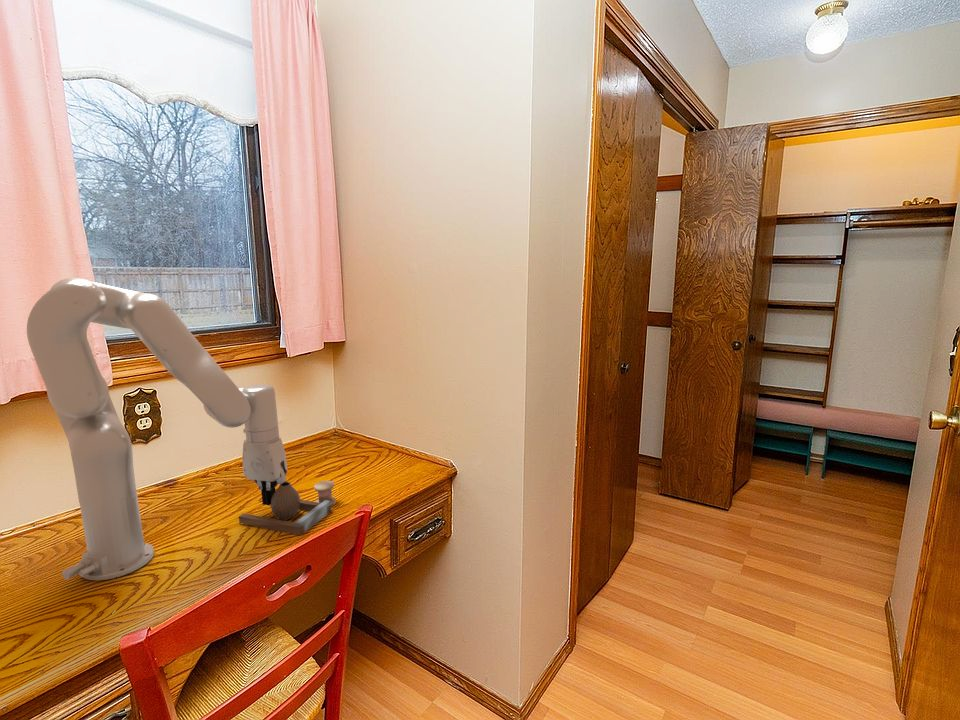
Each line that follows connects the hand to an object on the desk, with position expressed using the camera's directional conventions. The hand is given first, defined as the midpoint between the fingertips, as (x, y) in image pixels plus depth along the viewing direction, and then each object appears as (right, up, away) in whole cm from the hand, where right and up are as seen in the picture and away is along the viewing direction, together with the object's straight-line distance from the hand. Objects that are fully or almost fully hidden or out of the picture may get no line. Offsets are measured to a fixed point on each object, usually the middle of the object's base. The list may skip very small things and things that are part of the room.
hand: (269, 502), depth 125 cm
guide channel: (+5, -3, -2) cm, 6 cm away
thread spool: (+12, -2, +6) cm, 14 cm away
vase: (+5, -3, -1) cm, 6 cm away
